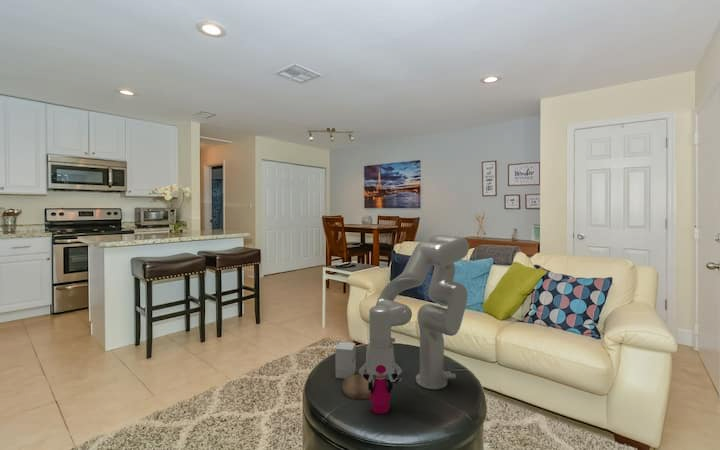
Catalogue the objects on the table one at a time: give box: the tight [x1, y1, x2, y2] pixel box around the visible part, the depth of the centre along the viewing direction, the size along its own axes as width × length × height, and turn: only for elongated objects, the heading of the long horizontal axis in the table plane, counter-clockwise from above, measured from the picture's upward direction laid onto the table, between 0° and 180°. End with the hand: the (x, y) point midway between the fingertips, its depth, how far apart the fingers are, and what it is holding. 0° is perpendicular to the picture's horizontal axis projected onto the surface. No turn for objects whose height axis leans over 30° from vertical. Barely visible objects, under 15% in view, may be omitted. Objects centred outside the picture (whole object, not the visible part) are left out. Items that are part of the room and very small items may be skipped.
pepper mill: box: [369, 365, 392, 415], centre depth 126 cm, size 7×7×20 cm
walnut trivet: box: [341, 373, 375, 400], centre depth 140 cm, size 14×14×2 cm
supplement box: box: [334, 341, 357, 380], centre depth 151 cm, size 7×7×13 cm
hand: (380, 390), depth 126 cm, fingers closed on pepper mill, 5 cm apart
